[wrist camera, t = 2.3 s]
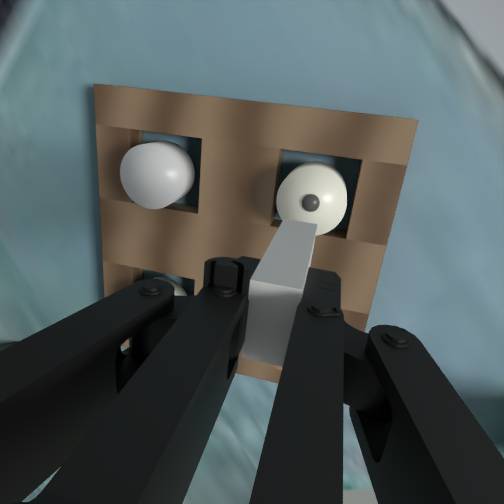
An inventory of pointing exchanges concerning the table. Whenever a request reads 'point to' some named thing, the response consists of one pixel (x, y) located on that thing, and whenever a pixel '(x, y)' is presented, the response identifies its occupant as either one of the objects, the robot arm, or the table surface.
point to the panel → (245, 190)
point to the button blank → (157, 174)
